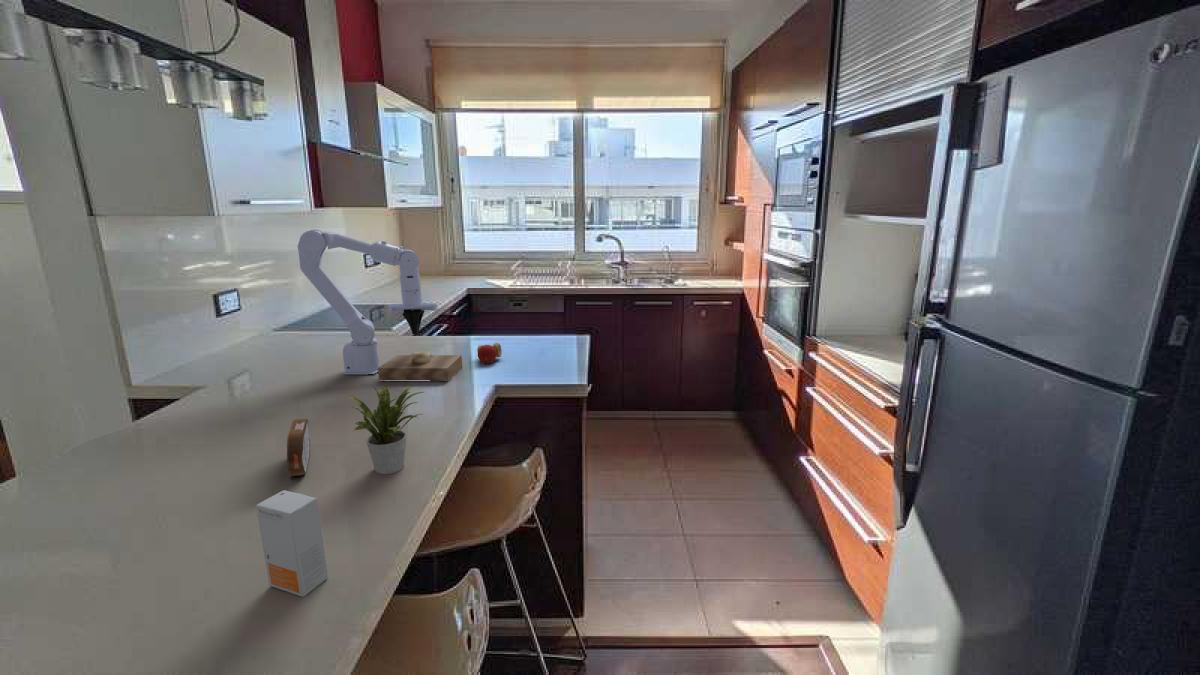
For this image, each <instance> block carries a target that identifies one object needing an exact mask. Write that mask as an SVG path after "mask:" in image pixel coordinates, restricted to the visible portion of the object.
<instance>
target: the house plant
mask: <svg viewBox="0 0 1200 675" xmlns="http://www.w3.org/2000/svg"><path fill="white" fill-rule="evenodd" d="M383 385H384V386H383ZM383 385H382V386H381V388H380V390H379V391H378V390H377V389H376V388H375V387H374V386H373V387H372V388H373V389H374V391H375V393H376V396H377V399H378V405H377V407H376V409H374V410H373V412H372V411H371V409H370V407H368V405H367V404H366V403H365V402H363V401H362V400H361V399H358V398H357V397H355V396H353V395H349V394H348V395H347V394H346V395H347V396H348V397H349V398H351V399H352V400H353V401H355V403H356V404H357V405H358V406H359V407H360V408H361V409H362V410H361V409H360V408H358V407H355V406H352V405H351V408H353V409H356V410H357V411H358V412H360V413H361V414H362V416H363V420H364V421H356V422H355V424H356V425H357V426H356V427H355V428H354V429H353V431H360V430H367V431H368V432H370V434H371V435H369V436H368V437H367V438H366V439H365V441H366V445H367V448H368V449H367V450H368V453H369V454H370V458H371V462H372V465H373V468H374V471H375V473H377V474H381V475H390V474H394V473H397V472H399V471H401V470H403V469H404V467H405V459H406V448H407V446H406V445H407V432H405V431H402V429H403V428H404V427H405V426H406V425H407V424H408V423H409V422H410V421H411V420H412V419H414V418H417V419H419V417H418V416H422V415H423V413H419V414H418V413H417V414H415V415H414V414H408V415H405V416H402V415H403V414H405V413H404V410H405V409H406V408H407V407H409V406H410V405H413V404H417V403H419V402H416V401H413V402H410V403H408V404H405V403H406V401H408V400H409V399H410V398H412V397H413V396H416V395H419V394H423V393H425V391H418V392H415V393H412V394H410V395H408V394H409V393H411V391H409V390H410V389H412V387H414V384H412V385H411V386H409V387H407V388H406V389H405V390H403V391H402V392H401V394H400V395H399V396H398V397H396V398H393V399H391V395H390V394H391V393H390V392H389V388H388V386H387V385H386V383H384V384H383ZM407 395H408V396H407ZM395 400H396V401H395ZM393 401H395V403H394V405H392V406H391V403H392V402H393ZM401 416H402V417H401ZM400 417H401V418H400ZM405 419H408V420H407V421H406V422H405V423H404V424H403V425H402V426H401V425H399V424H400V423H401V422H403V421H404V420H405Z"/></svg>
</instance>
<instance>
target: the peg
mask: <svg viewBox="0 0 1200 675" xmlns="http://www.w3.org/2000/svg"><path fill="white" fill-rule="evenodd" d="M410 355H411V358H412V363H413V364H424V363H428V362H430V355H431V354H430V351H428V350H420V351H419V350H418V351H415V352H412V353H411V354H410Z"/></svg>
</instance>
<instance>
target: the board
mask: <svg viewBox="0 0 1200 675" xmlns="http://www.w3.org/2000/svg"><path fill="white" fill-rule="evenodd" d="M461 368H462V369H463V357H462V355H459V354H458V355H456V354H455V355H449V354H447V355H444V354H442V355H441V354H440V355H438V354H430V362H428V363H424V364H413V363H412V358H411V354H396V356H394V357H392V358H391V359H390V360H388V361H386V362H385V363H384V364H382V365H380V367H379V368H378V373H377V374H378V381H379V380H430V381H449V380H450V379H451V378H452V377H453V376H454V375H455V374H456V373H457V372H458V371H459V370H460V369H461ZM462 369H461V370H462ZM461 370H460V371H461ZM460 371H459V372H460ZM459 372H458V373H459ZM458 373H457V374H458ZM457 374H456V375H457ZM456 375H455V376H456ZM455 376H454V377H455ZM454 377H453V378H454ZM453 378H452V379H453ZM452 379H451V380H452ZM451 380H450V381H451ZM450 381H449V382H450Z"/></svg>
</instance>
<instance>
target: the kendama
mask: <svg viewBox="0 0 1200 675" xmlns="http://www.w3.org/2000/svg"><path fill="white" fill-rule="evenodd" d="M476 351H477V357H478V360H479V361H480V362H481V363H483V364H486V363H489V364H492V363H493V362H494V361H496V359H497V358H500V357H502V354H503V353H502V346H501V344H500V343H498V342H495V343H494V344H492V345H490V344H480V345H478V346H477V350H476Z"/></svg>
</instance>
